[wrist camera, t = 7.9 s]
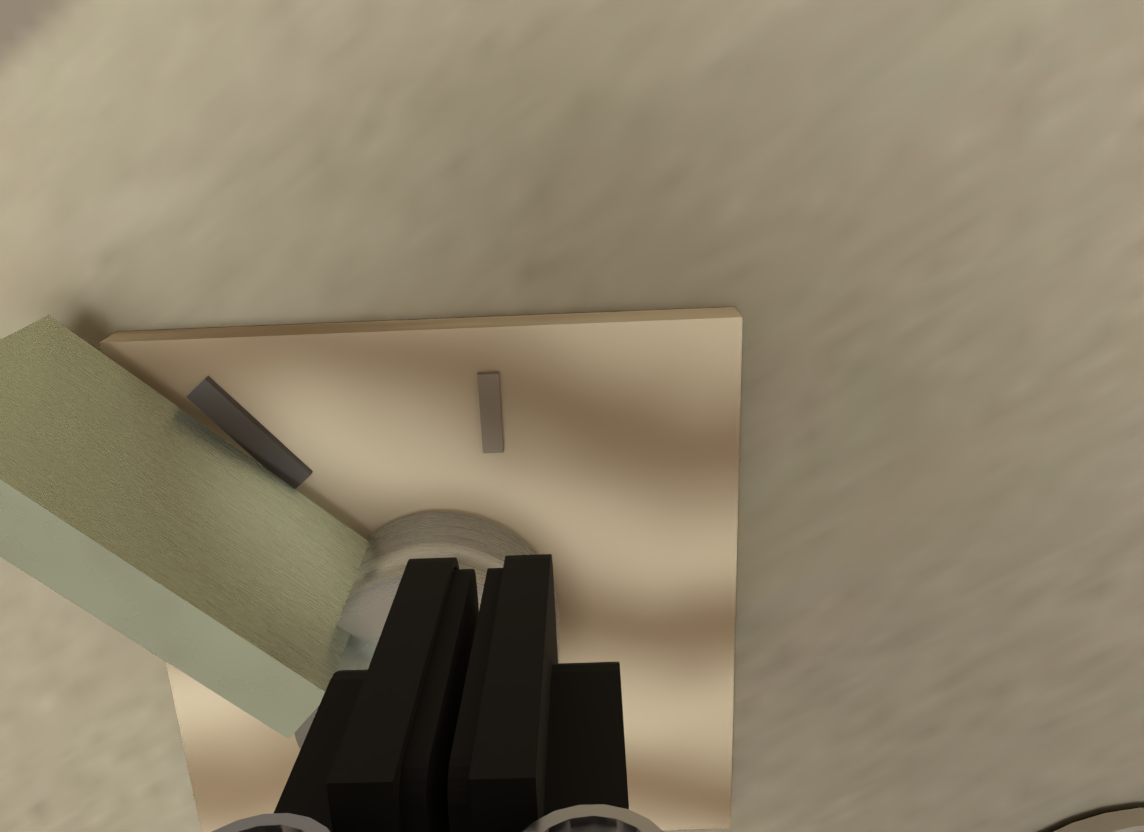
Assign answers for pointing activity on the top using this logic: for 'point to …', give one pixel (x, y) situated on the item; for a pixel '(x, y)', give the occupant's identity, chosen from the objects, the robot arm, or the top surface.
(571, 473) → the board
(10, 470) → the green panel with knob
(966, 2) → the top surface
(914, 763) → the top surface
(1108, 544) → the top surface
